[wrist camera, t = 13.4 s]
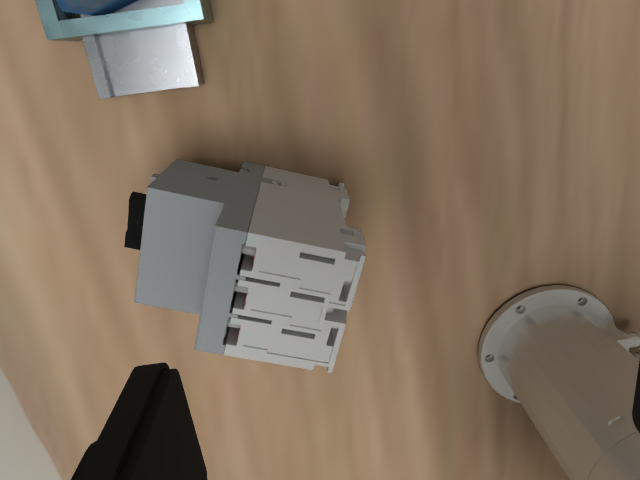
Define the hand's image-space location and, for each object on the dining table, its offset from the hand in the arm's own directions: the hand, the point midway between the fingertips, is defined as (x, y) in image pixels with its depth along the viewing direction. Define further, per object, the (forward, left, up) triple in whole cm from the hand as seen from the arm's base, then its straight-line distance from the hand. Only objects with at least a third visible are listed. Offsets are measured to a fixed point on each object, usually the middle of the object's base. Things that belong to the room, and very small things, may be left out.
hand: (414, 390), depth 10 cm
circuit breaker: (+7, +5, -31) cm, 32 cm away
